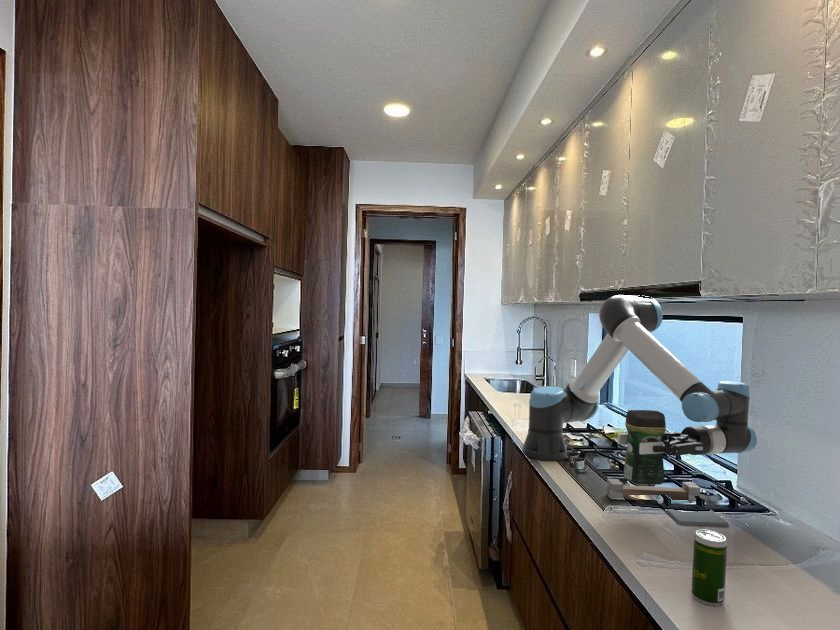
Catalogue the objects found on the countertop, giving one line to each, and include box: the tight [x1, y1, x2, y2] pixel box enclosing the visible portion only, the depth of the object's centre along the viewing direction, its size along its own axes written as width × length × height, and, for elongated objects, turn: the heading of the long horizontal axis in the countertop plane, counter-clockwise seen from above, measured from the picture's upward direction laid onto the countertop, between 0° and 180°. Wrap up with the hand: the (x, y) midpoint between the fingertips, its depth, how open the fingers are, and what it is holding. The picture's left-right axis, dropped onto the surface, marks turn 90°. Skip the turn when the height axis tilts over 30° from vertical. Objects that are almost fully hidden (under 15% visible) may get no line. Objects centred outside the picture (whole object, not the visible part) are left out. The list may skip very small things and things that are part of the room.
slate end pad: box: [666, 502, 730, 527], centre depth 139 cm, size 13×12×1 cm
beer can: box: [690, 529, 728, 607], centre depth 99 cm, size 5×5×12 cm
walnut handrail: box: [606, 478, 701, 501], centre depth 149 cm, size 4×24×4 cm, turn 88°
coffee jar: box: [622, 409, 667, 486], centre depth 139 cm, size 10×8×19 cm
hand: (629, 443), depth 138 cm, fingers closed on coffee jar, 8 cm apart
